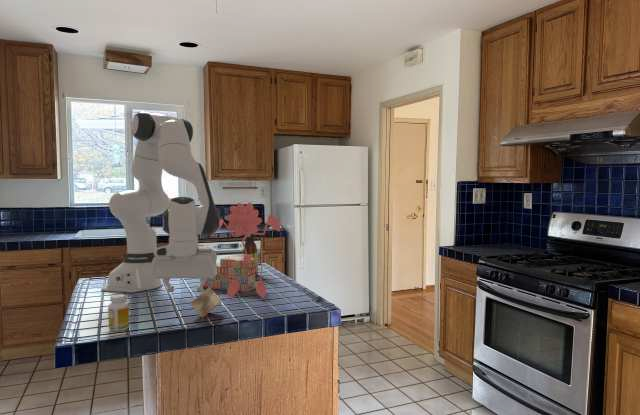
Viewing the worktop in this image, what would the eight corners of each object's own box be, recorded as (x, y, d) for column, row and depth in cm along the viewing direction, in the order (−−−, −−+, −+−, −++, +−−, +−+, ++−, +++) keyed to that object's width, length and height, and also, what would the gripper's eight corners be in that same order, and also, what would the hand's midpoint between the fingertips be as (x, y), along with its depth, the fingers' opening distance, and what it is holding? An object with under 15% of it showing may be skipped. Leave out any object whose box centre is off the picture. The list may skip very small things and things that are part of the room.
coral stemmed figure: (215, 294, 168) (213, 201, 165) (283, 295, 166) (282, 201, 163) (202, 306, 153) (199, 204, 150) (276, 308, 151) (275, 204, 148)
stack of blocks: (201, 287, 179) (200, 257, 178) (210, 284, 184) (209, 254, 184) (248, 292, 171) (247, 260, 170) (256, 288, 177) (255, 257, 176)
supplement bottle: (131, 325, 133) (130, 293, 133) (126, 331, 128) (125, 297, 127) (112, 326, 133) (111, 293, 132) (106, 332, 127) (105, 298, 127)
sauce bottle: (254, 273, 204) (254, 230, 202) (260, 276, 199) (260, 231, 197) (241, 275, 200) (240, 231, 199) (247, 277, 195) (246, 232, 194)
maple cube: (204, 291, 139) (216, 306, 139) (209, 286, 145) (221, 300, 145) (189, 303, 139) (202, 318, 139) (195, 298, 145) (207, 312, 145)
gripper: (219, 247, 144) (220, 289, 145) (156, 247, 145) (157, 289, 146) (214, 250, 138) (215, 294, 139) (148, 250, 138) (149, 294, 139)
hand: (185, 291), depth 142 cm, fingers open, 8 cm apart
